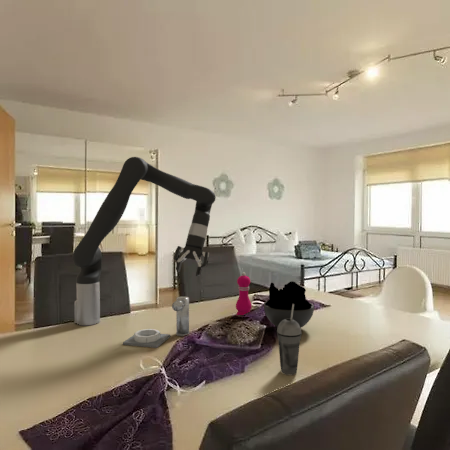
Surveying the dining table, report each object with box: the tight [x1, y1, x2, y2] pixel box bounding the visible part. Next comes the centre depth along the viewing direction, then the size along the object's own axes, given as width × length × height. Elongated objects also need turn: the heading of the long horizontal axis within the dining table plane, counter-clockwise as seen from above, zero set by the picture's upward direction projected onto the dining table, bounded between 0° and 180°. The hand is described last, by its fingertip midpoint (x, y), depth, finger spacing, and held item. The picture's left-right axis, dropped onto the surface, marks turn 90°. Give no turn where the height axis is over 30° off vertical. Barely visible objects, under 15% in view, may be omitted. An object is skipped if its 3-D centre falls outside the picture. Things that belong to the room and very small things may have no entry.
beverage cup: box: [276, 304, 303, 376], centre depth 107 cm, size 7×7×20 cm
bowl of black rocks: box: [263, 280, 315, 328], centre depth 147 cm, size 20×20×19 cm
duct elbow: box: [171, 296, 190, 337], centre depth 139 cm, size 5×9×14 cm, turn 166°
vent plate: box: [122, 328, 171, 349], centre depth 133 cm, size 13×12×3 cm
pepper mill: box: [235, 271, 253, 316], centre depth 165 cm, size 7×7×20 cm
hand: (187, 274), depth 150 cm, fingers open, 8 cm apart
